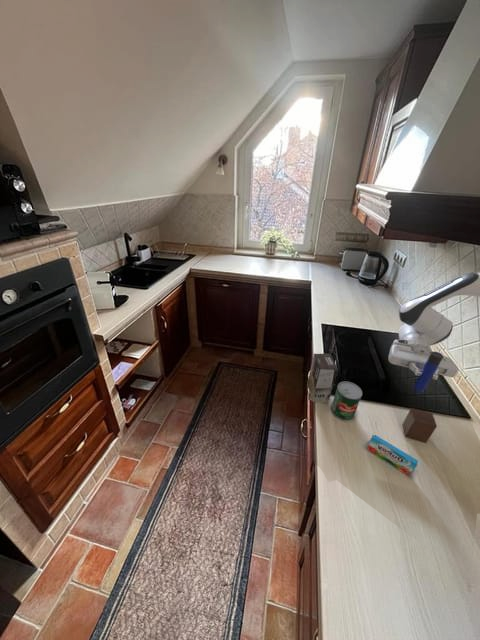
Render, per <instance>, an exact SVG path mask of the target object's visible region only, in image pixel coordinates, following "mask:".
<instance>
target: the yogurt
mask: <svg viewBox="0 0 480 640" xmlns="http://www.w3.org/2000/svg"><path fill="white" fill-rule="evenodd" d="M365 449H366V451H368V452H370V453H371V454H372V455H374V456H375V457H377V458H378V459H380V460H381V461H383V462H385V463H387V464H388V465H389V466H390V467H392V468H394V469H396V470H398V472H400V473H402V474H403V475H405V476H407V477H411V475H412V474H413V472H414V471H415V469H416V468H417V467H418V464H419V460H418V459H417V458H414V457H413V456H411V455H410V454H408V453H407V452H405V451H403V450H402V449H400V448H398V447H396V446H394V445H393V444H391V443H390V442H388V441H387V440H385V439H383V438H382V437H380V436H378V435H376V434H374V433H373V434H372V435H371V438H370V440H369V442H368V444H367V446H366V448H365Z"/></svg>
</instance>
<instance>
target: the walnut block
mask: <svg viewBox="0 0 480 640" xmlns="http://www.w3.org/2000/svg"><path fill="white" fill-rule="evenodd" d="M401 426H402V431H403V435H404V438H406V439H409V440H414V441H417V442H420V443H423V444H426V443H428V441H429V439H430V437H432V435H433V433H434V432H435V430H436V429H437V426H438V425H437V423H436V420H435V417H434V413H432V412H428V411H423V410H420V409H416V408H412V407H411V408H410V409H409V411H408V413H407V414H406V417H405V419H404V420H403V422H402V424H401Z"/></svg>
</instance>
